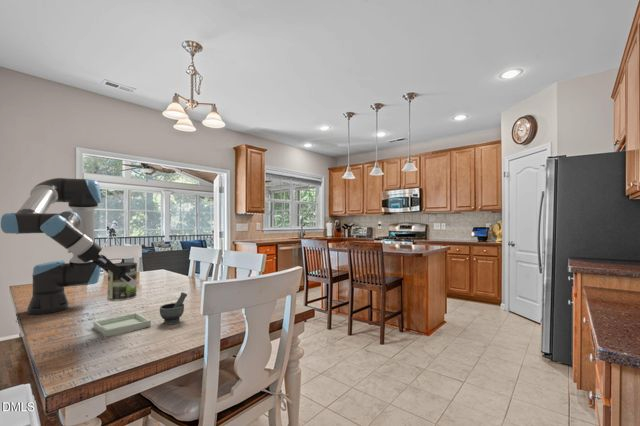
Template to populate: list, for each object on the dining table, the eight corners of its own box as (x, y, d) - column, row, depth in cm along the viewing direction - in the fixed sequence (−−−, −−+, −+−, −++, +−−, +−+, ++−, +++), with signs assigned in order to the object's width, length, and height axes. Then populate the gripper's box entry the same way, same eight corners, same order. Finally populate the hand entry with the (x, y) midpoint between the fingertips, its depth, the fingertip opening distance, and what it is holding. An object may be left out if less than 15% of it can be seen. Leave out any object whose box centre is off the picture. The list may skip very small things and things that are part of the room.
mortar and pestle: (163, 327, 126) (163, 298, 126) (156, 321, 133) (156, 294, 133) (190, 321, 134) (191, 293, 134) (183, 316, 141) (183, 289, 141)
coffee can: (142, 295, 131) (142, 262, 131) (122, 302, 121) (122, 266, 121) (121, 294, 133) (122, 261, 133) (100, 300, 123) (101, 265, 123)
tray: (93, 327, 126) (93, 321, 126) (136, 318, 138) (136, 312, 138) (104, 337, 115) (105, 331, 115) (150, 326, 127) (150, 320, 127)
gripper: (69, 254, 123) (114, 287, 134) (83, 259, 108) (133, 295, 120) (86, 240, 127) (128, 273, 139) (101, 243, 112) (147, 279, 124)
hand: (130, 283), depth 129 cm, fingers closed on coffee can, 10 cm apart
